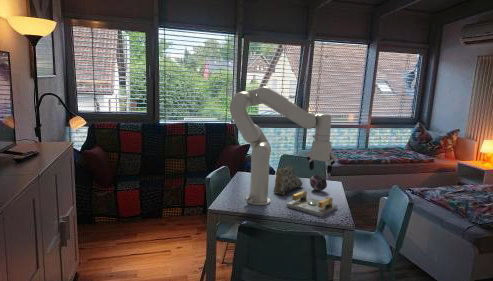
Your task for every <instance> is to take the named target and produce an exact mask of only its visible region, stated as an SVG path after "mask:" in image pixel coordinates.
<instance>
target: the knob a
mask: <svg viewBox="0 0 493 281" xmlns="http://www.w3.org/2000/svg"><path fill="white" fill-rule="evenodd" d="M307 197H308V192H307V190H300V192H297V193H294V194H292V200H291V201H293V200H295V201H296V200H298V199H306V198H307Z"/></svg>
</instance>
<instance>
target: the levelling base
mask: <svg viewBox="0 0 493 281" xmlns="http://www.w3.org/2000/svg"><path fill="white" fill-rule="evenodd" d="M320 201H321V200H320V199H317V198H313V197H309V196H307V198H306V199H298V200H296V201H295V200H291V201H288V202H287V203H286V208H290V209H293V210H297V211H300V212H303V213H305V214H311V215H313V216H316V217H319V218H324V217H325V216H327V215H328V214H331V213H332V212H334V211H336V210H338V204H334V203H332V206H324V207H323V208H320V207H318V204H319V202H320Z"/></svg>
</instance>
